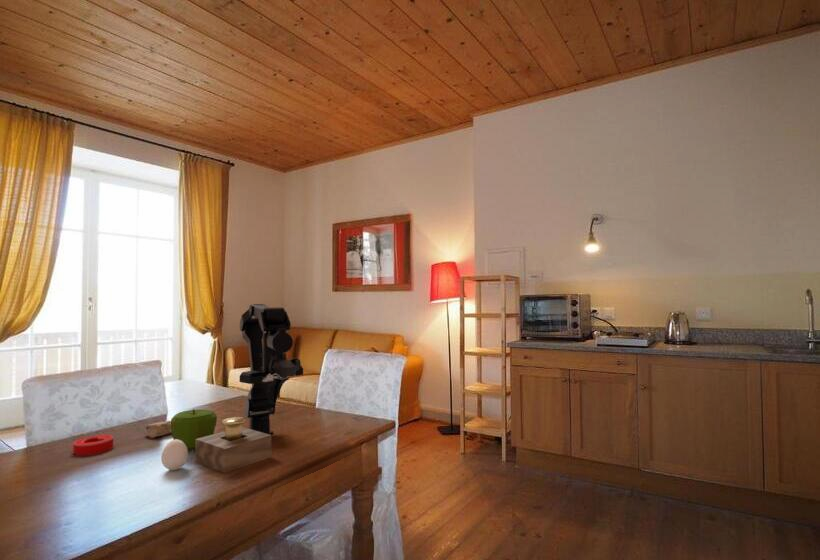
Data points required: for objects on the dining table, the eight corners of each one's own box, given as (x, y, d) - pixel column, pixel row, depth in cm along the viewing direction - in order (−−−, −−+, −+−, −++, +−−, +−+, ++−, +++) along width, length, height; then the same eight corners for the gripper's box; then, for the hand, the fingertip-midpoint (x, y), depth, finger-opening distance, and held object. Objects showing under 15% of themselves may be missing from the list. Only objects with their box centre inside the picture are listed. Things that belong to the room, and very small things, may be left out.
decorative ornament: (64, 456, 128) (64, 444, 128) (89, 445, 138) (90, 434, 138) (97, 456, 128) (97, 444, 128) (120, 444, 137) (120, 434, 137)
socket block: (195, 461, 122) (195, 439, 122) (241, 447, 133) (241, 426, 133) (224, 473, 113) (224, 448, 113) (271, 456, 124) (271, 434, 125)
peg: (217, 444, 123) (217, 420, 123) (237, 438, 127) (237, 416, 128) (230, 448, 119) (230, 424, 119) (249, 442, 124) (250, 419, 124)
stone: (142, 435, 146) (143, 421, 147) (177, 428, 154) (177, 415, 154) (149, 441, 140) (150, 426, 141) (185, 434, 148) (185, 420, 148)
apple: (223, 446, 134) (223, 408, 134) (180, 457, 125) (180, 416, 125) (205, 438, 142) (206, 402, 143) (164, 447, 133) (164, 409, 134)
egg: (183, 463, 120) (183, 434, 121) (191, 469, 116) (191, 439, 116) (158, 469, 116) (158, 439, 116) (165, 476, 112) (165, 445, 112)
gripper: (262, 355, 121) (262, 413, 120) (315, 348, 136) (315, 400, 135) (238, 352, 128) (238, 408, 127) (291, 346, 143) (291, 396, 142)
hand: (272, 403), depth 133 cm, fingers closed
